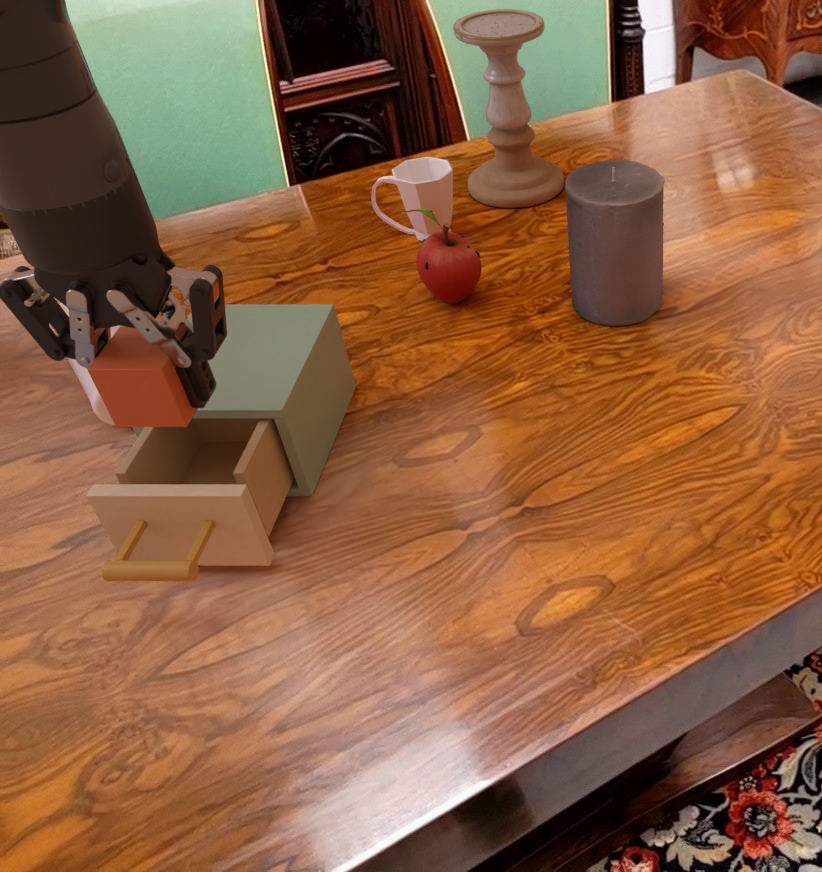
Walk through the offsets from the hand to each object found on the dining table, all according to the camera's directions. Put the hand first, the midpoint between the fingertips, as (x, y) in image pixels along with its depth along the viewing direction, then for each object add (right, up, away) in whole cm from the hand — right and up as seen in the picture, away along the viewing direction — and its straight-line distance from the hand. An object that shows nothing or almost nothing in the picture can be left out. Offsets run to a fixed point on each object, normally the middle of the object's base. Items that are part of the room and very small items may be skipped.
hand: (163, 400), depth 66 cm
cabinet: (0, -3, +17) cm, 18 cm away
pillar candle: (+31, +12, +33) cm, 47 cm away
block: (0, 0, 0) cm, 0 cm away
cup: (+8, +21, +45) cm, 51 cm away
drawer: (0, -10, +8) cm, 12 cm away
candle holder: (+18, +29, +54) cm, 64 cm away
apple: (+13, +12, +34) cm, 39 cm away
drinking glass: (-12, 0, +17) cm, 20 cm away
